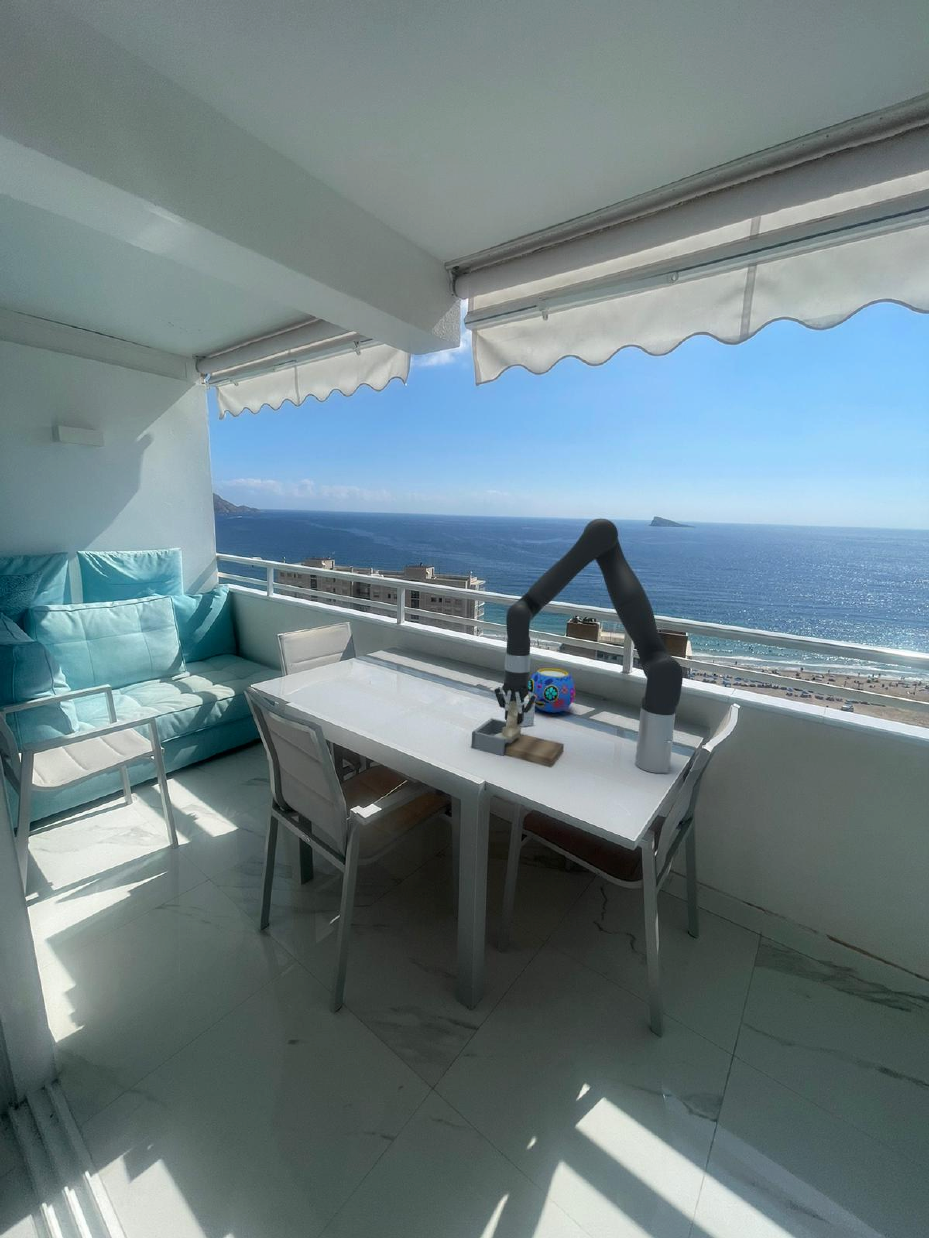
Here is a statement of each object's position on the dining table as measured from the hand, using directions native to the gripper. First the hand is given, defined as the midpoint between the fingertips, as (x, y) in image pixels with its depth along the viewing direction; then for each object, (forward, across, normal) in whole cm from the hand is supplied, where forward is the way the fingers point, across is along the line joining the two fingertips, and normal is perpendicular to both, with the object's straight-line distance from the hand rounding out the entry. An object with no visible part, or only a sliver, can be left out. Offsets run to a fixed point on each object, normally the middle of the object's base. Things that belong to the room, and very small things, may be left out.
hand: (514, 722), depth 147 cm
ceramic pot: (+8, -1, +39) cm, 40 cm away
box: (+8, -6, 0) cm, 10 cm away
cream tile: (+7, -3, 0) cm, 8 cm away
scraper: (+4, 0, -2) cm, 5 cm away
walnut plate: (+8, +7, 0) cm, 11 cm away
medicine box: (+8, -5, +19) cm, 21 cm away
